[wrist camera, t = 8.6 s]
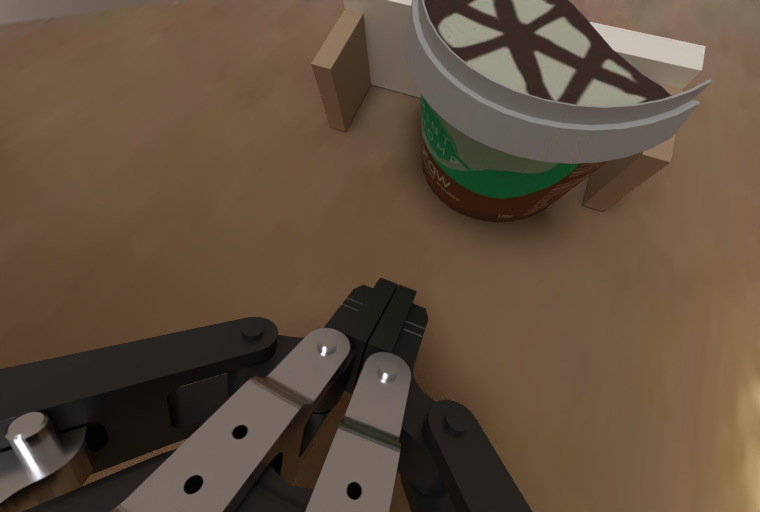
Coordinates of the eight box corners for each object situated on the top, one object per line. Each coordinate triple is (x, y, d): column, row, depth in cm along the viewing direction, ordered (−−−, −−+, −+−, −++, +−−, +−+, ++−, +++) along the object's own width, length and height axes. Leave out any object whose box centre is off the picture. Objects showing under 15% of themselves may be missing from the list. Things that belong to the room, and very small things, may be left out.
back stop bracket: (330, 127, 22) (306, 46, 16) (364, 64, 24) (353, -29, 18) (603, 211, 19) (690, 148, 13) (621, 132, 21) (705, 46, 15)
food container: (367, 136, 22) (343, -36, 12) (440, 95, 23) (470, -98, 13) (480, 281, 18) (567, 195, 9) (562, 226, 19) (727, 91, 9)
